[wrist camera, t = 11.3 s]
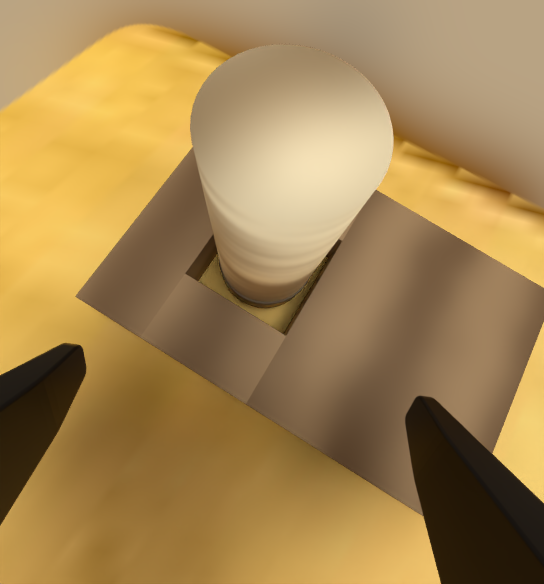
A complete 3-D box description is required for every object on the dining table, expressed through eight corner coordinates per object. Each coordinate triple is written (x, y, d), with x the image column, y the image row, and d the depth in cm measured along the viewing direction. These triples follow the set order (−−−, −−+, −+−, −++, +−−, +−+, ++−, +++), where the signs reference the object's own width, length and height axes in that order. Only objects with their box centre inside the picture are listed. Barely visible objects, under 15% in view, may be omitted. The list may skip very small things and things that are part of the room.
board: (512, 303, 22) (554, 294, 19) (425, 511, 18) (459, 538, 15) (229, 136, 23) (227, 102, 20) (100, 306, 19) (75, 296, 16)
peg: (319, 283, 21) (436, 158, 8) (252, 328, 20) (267, 266, 7) (273, 220, 21) (316, 14, 9) (206, 261, 20) (146, 95, 8)
